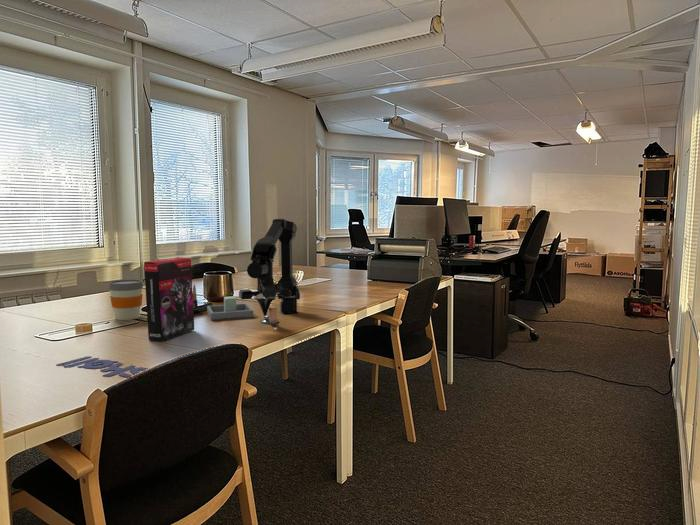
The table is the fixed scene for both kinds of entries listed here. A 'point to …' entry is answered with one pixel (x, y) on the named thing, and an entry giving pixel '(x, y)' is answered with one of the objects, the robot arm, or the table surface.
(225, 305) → the block
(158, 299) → the graphics card box
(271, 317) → the crank
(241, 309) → the tray
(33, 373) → the table surface
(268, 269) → the robot arm
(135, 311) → the reusable coffee cup
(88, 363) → the signage
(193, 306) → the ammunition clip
